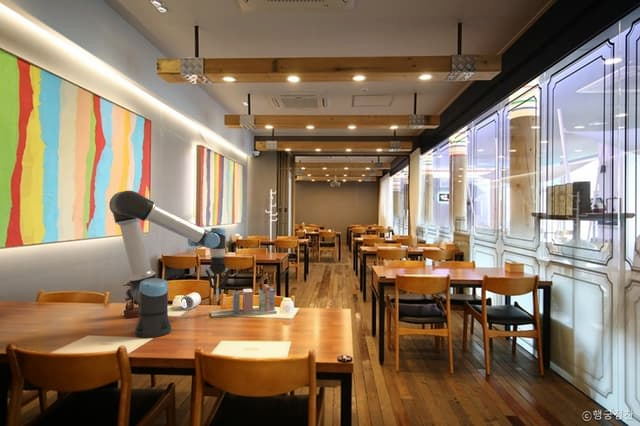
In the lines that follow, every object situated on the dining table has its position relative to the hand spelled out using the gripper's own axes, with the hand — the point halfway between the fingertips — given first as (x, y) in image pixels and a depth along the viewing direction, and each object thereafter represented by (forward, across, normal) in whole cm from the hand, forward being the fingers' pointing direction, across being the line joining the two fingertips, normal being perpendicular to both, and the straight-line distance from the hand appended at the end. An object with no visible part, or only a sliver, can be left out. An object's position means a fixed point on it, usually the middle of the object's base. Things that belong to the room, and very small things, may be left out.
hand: (217, 300), depth 201 cm
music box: (+8, +41, -8) cm, 43 cm away
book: (+6, -16, +1) cm, 17 cm away
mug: (+8, +16, -20) cm, 27 cm away
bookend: (+6, -10, +1) cm, 11 cm away
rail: (+7, -14, +1) cm, 16 cm away
